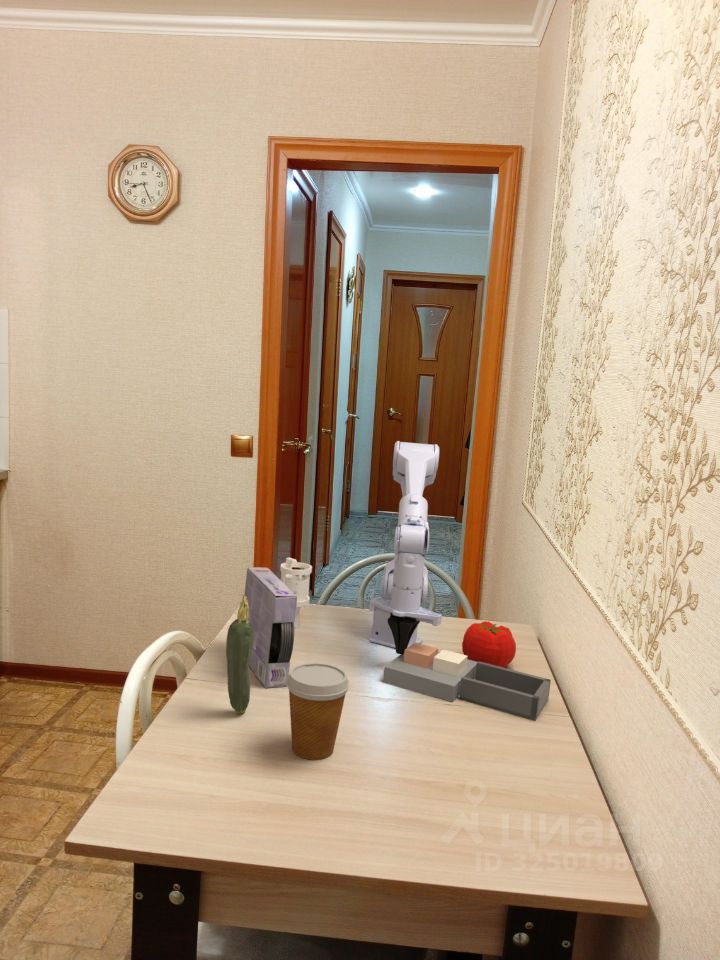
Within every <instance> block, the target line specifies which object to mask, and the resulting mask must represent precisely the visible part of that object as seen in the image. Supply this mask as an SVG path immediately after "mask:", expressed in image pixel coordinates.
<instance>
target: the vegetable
mask: <svg viewBox="0 0 720 960" xmlns="http://www.w3.org/2000/svg"><path fill="white" fill-rule="evenodd" d="M241 596H242V600H241V601H240V604H239V608H238V609H237V610H238V611H237V616H236V617H237V619H235V620H233V621H232V622H231V624H230V625H229V627H228V630H227V633H226V634H227V635H226V644H225V652H226V653H225V654H226V655H225V657H226V666H227V667H226V669H227V671H226V672H227V691H228V692H227V693H228V699H229V704H230V706H231V707H232V709H234V711H235V713H237V714H241V713H246V711H247V709H248V706H249V703H250V699H251V698H250V695H251V685H250V684H251V683H250V682H251V681H250V667H249V662H250V657H251V651H252V646H253V642H254V630H253V626H252V625H251V623H250V622H249V621H248V620H247V619H248V618H249V616H250V613H249V607H248V600H247V598H246V596H244V594H242V595H241Z"/></svg>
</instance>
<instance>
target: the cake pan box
mask: <svg viewBox="0 0 720 960" xmlns="http://www.w3.org/2000/svg"><path fill="white" fill-rule="evenodd" d="M243 595H244V596H246V598H247V600H248V607H249V613H250V616H249V618H248V619H247V620H248V621H249V622H250V623H251V625H252V626H253V630H254V642H253V646H252V651H251V657H250V662H249V669H250V670H251V671H252V672H253V674H255V676H256V677H257V678H258V680H259V681H260V683H261V684H262V685H263V687H264V688H265V689H273V688H274V689H275V688H285V687H288V686H287V684H286V680H287V677H288V676H289V674H290V665H291V658H292V655H293V652H294V651H293V650H294V643H295V642H294V641H295V628H294V622H295V616H296V605H297V596H296V595H295V594H294V593H293V592H292V591H291V590H290V589H289V588H288V587H287V586H286V585H285V584H284V583H283V582H282V581H281V578H279V577H278V576H277V575H276V574H275V573H274V572H273V571H272V570H271V569H270V568H268V567H260V566H259V567H252V566H251V567H247V569H246V575H245V586H244V594H243Z"/></svg>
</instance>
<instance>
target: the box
mask: <svg viewBox="0 0 720 960" xmlns="http://www.w3.org/2000/svg"><path fill="white" fill-rule="evenodd" d="M551 683H552V679H549V678H545V677H542V676H538V675H534V674H529V673H525V672H522V671H518V670H514V669H510V668H506V667H499V666H495V665H491V664H487V663H483V662H480V661H478V662H477V665H476V675H475V679H471V678H467V677H464V676H463V677H462V678H461V686H460V695H459V696H458V697H459V698H458V699H459V700H462V701H465V702H469V703H472V704H475V705H479V706H483V707H486V708H489V709H493V710H496V711H499V712H504V713H507V714H509V715H514V716H516V717H517V716H518V717H520V718H524V719H528V720H532V721H534V722H536V720H537V719H538V717H539V716H540V714H541V712H542V711H543V710H544V708H545V707H546V705H547V703H548V702H549V697H550V690H551Z"/></svg>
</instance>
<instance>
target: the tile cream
mask: <svg viewBox="0 0 720 960" xmlns="http://www.w3.org/2000/svg"><path fill="white" fill-rule="evenodd" d="M439 652H440V653H438V654H437V655H436V656H435V657H434V660H433V670H435V671H438V672H442V673H446V674H449V675H453V676H457V677H458V676H459V675H460V674H461V673H462V672H463V671H464V670H465V669H466V667H467V657H468V656H466V655H464V654H463V653H458V652H454V651H450V650H448V649H447V650H446V649H442V650H440V651H439Z"/></svg>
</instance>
